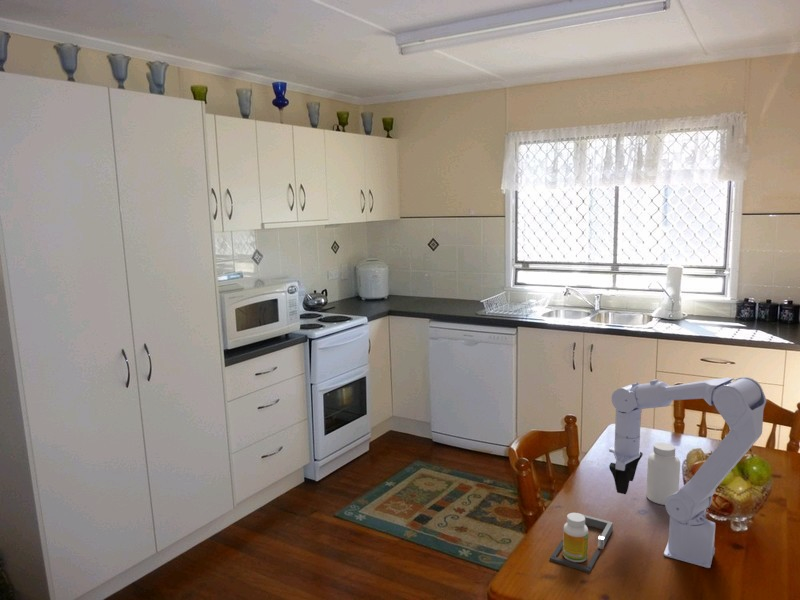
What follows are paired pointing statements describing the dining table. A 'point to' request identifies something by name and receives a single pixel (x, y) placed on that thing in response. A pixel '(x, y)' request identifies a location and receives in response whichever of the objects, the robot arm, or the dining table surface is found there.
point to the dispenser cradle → (600, 524)
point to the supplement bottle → (575, 538)
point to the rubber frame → (572, 564)
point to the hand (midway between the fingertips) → (625, 486)
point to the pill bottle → (662, 473)
